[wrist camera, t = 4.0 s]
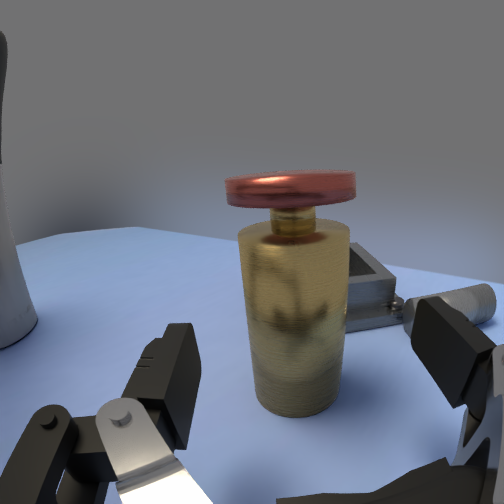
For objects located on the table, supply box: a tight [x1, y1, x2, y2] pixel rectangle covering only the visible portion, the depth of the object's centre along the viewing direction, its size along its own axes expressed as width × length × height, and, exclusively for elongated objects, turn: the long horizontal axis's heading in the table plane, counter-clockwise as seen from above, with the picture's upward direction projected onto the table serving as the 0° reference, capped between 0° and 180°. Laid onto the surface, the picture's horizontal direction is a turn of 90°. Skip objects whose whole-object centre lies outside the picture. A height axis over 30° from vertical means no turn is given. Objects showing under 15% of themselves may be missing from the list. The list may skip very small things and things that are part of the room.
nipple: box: [403, 284, 496, 339], centre depth 18 cm, size 8×3×3 cm
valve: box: [225, 170, 356, 418], centre depth 14 cm, size 6×6×12 cm
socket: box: [345, 243, 405, 333], centre depth 26 cm, size 12×12×4 cm
